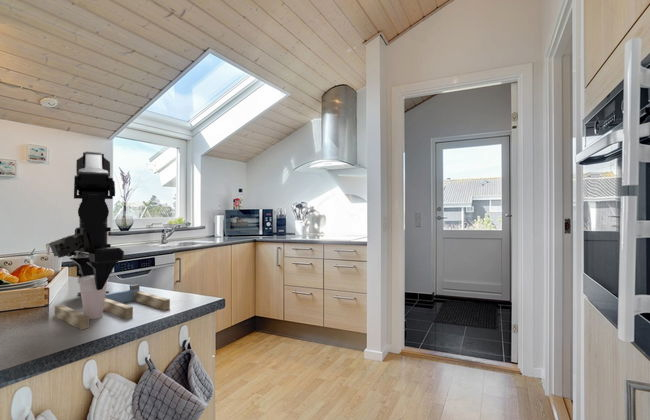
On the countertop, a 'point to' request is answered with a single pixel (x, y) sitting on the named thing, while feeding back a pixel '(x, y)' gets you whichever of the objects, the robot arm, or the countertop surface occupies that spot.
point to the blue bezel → (123, 294)
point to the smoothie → (92, 297)
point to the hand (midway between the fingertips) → (93, 287)
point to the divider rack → (111, 309)
